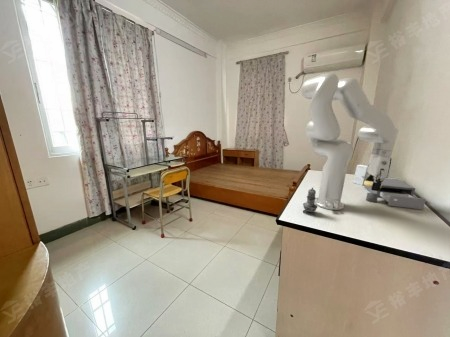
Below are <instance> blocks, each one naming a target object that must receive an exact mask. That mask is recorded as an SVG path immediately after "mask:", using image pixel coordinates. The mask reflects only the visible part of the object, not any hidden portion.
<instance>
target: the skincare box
mask: <svg viewBox="0 0 450 337" xmlns="http://www.w3.org/2000/svg"><path fill="white" fill-rule="evenodd" d="M368 166H369V165H365V164H364V165H363V164H357V165H356V168H355V171H354V172H355V173H354V176H353V181H352V183H353V184H357V185H359V186H365V185H364V181H366V177H367V175H368V174H367V173H368V172H367V170H368Z"/></svg>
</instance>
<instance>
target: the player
mask: <svg viewBox="0 0 450 337" xmlns="http://www.w3.org/2000/svg"><path fill="white" fill-rule="evenodd" d="M366 179H367V177H366ZM373 179H374V178H373ZM377 179H378V178H377ZM364 188H365V190H367V191H368V193H374V194H377V195H378V198H380V199H383V198H382V197H381V196H380V195H379V192H380V191H384V192H394V193H402V191H404V192H406V193H408V194H409V195H411V196H413V197H414V195H415V194H414V193H415V191H416V188H415V187H414V186H412V185H409V184H408V183H406V182H404V181H402V180H401V179H399V178H391V177H390V178H388V177H386V178H385V179H384V181H383V182H382V186H381V188H380V191H374V190H371V188H372V187H368V186H365V185H364ZM378 198H377V199H378Z"/></svg>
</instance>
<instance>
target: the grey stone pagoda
mask: <svg viewBox="0 0 450 337" xmlns="http://www.w3.org/2000/svg"><path fill="white" fill-rule="evenodd" d="M307 191H308V193H307V196H306V198H307V199H306V202H304V203H303V204H302V206H303V210H302V213H303V214H304V215H307V216H312V217H313V216H316V212H315V211H316V210H317V209H318V205H316V204H315V199H316V198H317V197H316V190H315V189H314V187H311V189H308V190H307Z"/></svg>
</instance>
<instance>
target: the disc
mask: <svg viewBox="0 0 450 337" xmlns="http://www.w3.org/2000/svg"><path fill="white" fill-rule="evenodd" d="M372 185H373V181H364V185H363V186H364V187H365V186H368V187H372ZM381 186H382V184H381ZM380 188H381V187H380Z"/></svg>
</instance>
